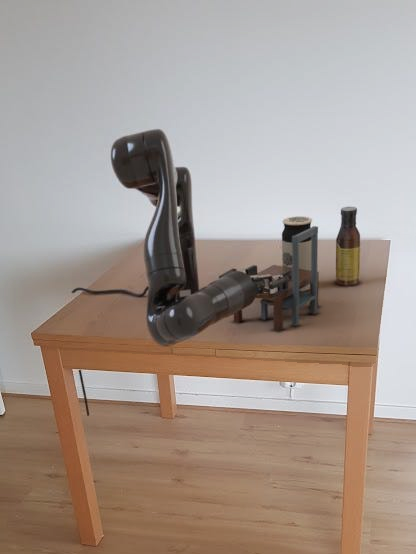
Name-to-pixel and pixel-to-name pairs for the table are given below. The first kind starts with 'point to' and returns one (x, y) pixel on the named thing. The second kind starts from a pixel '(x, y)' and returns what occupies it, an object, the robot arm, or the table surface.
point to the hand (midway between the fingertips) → (272, 272)
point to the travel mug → (291, 229)
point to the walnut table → (278, 307)
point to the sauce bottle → (348, 249)
